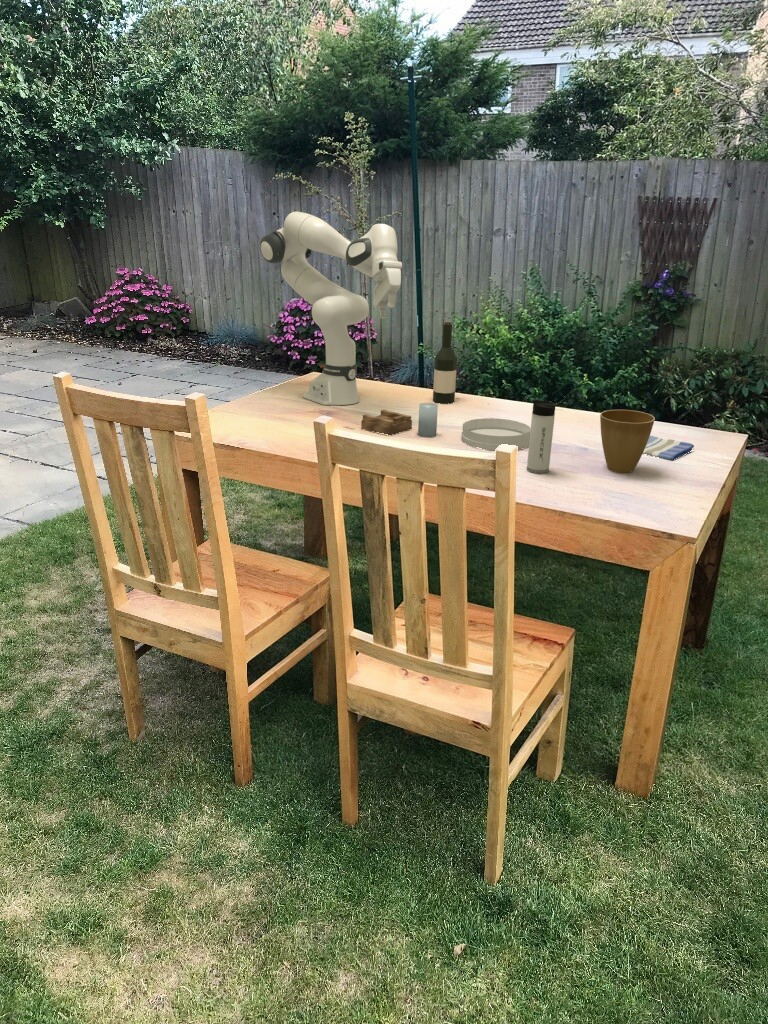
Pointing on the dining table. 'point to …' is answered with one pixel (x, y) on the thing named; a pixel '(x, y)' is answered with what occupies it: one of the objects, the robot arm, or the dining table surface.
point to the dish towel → (666, 448)
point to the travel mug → (541, 437)
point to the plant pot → (624, 438)
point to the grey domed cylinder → (427, 420)
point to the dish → (495, 433)
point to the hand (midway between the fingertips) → (387, 312)
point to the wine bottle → (445, 369)
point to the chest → (387, 422)
